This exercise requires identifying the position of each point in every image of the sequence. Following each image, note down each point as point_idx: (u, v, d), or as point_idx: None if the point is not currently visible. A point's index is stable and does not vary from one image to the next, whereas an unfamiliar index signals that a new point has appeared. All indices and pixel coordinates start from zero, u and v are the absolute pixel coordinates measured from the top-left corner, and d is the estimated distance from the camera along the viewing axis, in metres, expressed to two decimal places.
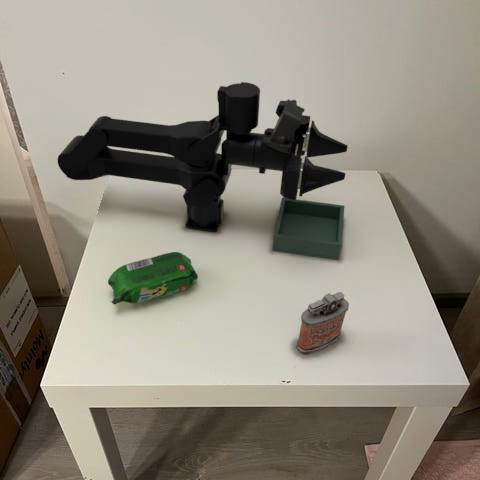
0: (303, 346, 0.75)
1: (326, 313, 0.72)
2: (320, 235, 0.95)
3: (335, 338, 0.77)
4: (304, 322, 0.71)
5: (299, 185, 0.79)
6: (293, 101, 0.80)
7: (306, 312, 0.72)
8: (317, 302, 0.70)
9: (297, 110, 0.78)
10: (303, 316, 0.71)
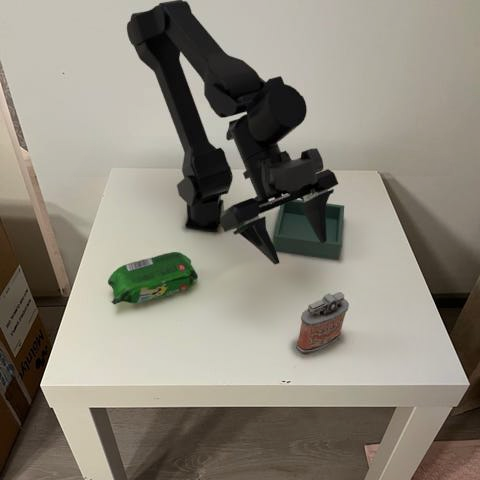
0: (303, 346, 0.75)
1: (326, 313, 0.72)
2: None
3: (335, 338, 0.77)
4: (304, 322, 0.71)
5: (238, 227, 0.71)
6: (318, 165, 0.66)
7: (306, 312, 0.72)
8: (317, 302, 0.70)
9: (305, 178, 0.66)
10: (303, 316, 0.71)
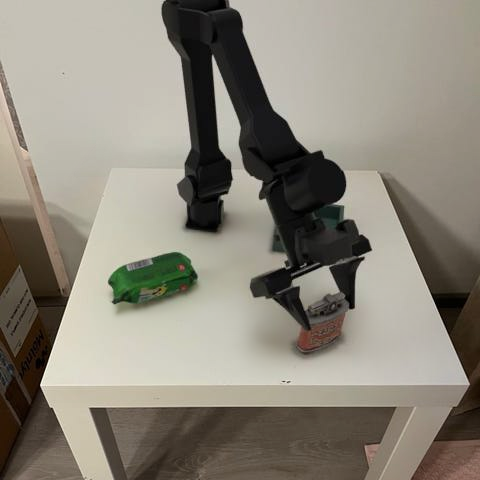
0: (303, 346, 0.75)
1: (326, 313, 0.72)
2: None
3: (335, 338, 0.77)
4: None
5: None
6: (354, 238, 0.64)
7: (306, 312, 0.72)
8: (317, 302, 0.70)
9: (340, 252, 0.64)
10: None
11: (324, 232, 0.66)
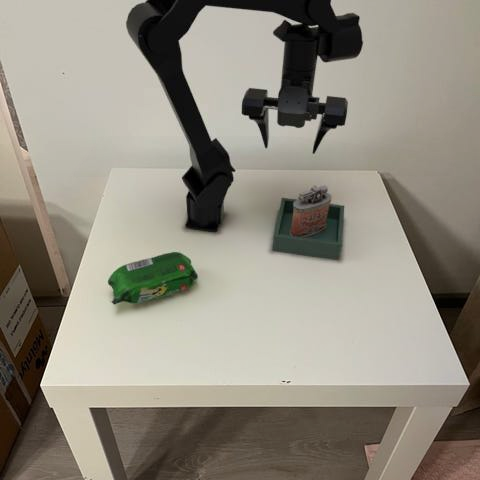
0: (295, 232, 0.93)
1: (313, 202, 0.89)
2: (320, 235, 0.95)
3: (321, 229, 0.95)
4: (295, 208, 0.89)
5: None
6: (307, 118, 0.81)
7: (297, 201, 0.90)
8: (306, 191, 0.88)
9: (290, 122, 0.82)
10: (295, 203, 0.89)
11: (298, 96, 0.82)
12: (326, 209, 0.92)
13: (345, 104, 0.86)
